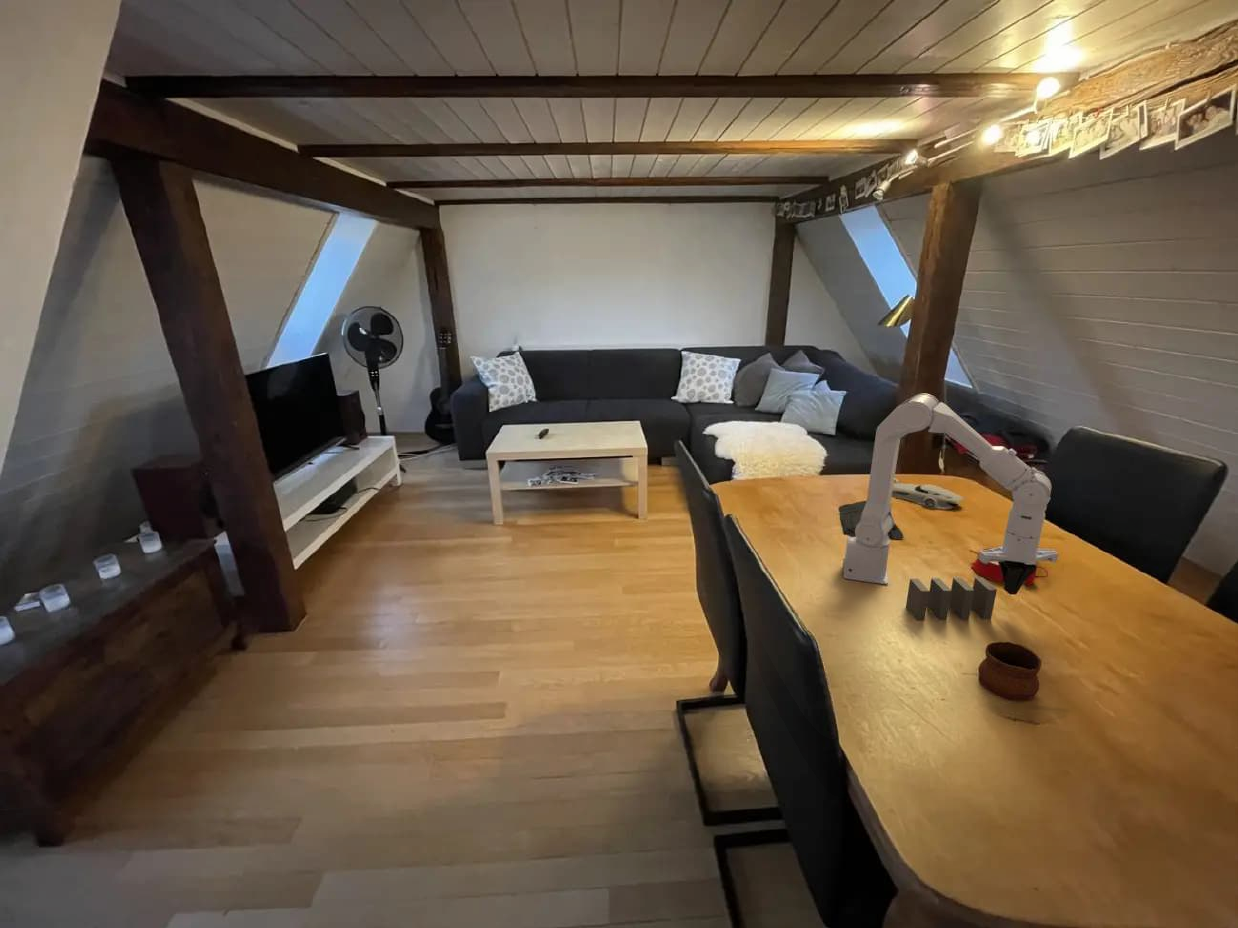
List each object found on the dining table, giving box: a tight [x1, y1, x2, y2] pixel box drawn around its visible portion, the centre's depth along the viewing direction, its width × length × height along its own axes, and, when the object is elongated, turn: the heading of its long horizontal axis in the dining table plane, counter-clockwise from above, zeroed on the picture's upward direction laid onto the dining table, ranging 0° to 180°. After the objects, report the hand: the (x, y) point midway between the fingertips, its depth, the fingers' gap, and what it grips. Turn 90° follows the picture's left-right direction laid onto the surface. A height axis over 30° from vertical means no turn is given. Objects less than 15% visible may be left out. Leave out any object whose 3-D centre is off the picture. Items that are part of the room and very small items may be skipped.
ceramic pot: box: [978, 641, 1054, 725], centre depth 99 cm, size 18×18×7 cm
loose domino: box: [905, 578, 930, 622], centre depth 119 cm, size 2×5×7 cm, turn 179°
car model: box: [891, 477, 964, 511], centre depth 178 cm, size 11×24×5 cm, turn 44°
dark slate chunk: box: [838, 500, 904, 541], centre depth 163 cm, size 15×22×5 cm
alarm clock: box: [969, 548, 1049, 586], centre depth 134 cm, size 10×6×15 cm
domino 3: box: [971, 576, 998, 621], centre depth 119 cm, size 2×5×7 cm, turn 179°
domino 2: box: [949, 577, 974, 621], centre depth 119 cm, size 2×5×7 cm, turn 179°
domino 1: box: [927, 577, 952, 621], centre depth 119 cm, size 2×5×7 cm, turn 179°
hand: (1010, 591), depth 118 cm, fingers closed
